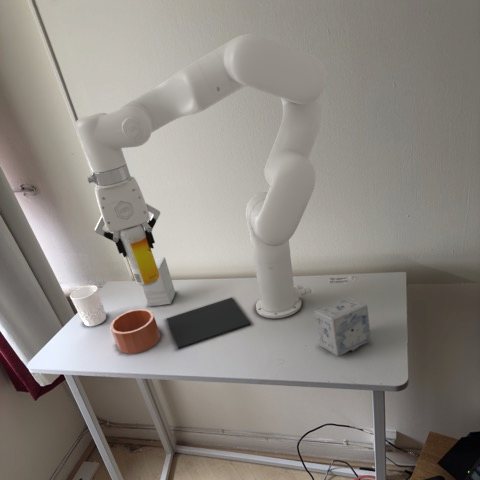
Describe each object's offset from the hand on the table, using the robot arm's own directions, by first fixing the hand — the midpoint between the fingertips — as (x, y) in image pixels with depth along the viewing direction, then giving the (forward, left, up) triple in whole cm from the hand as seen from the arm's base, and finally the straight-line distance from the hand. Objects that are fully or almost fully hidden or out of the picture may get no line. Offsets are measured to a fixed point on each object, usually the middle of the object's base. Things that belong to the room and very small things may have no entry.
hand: (138, 250), depth 102 cm
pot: (+7, -1, -25) cm, 26 cm away
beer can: (0, 0, -9) cm, 9 cm away
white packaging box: (-3, -20, -25) cm, 32 cm away
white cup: (+18, -20, -25) cm, 37 cm away
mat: (-12, +1, -25) cm, 28 cm away
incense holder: (-38, +29, -25) cm, 54 cm away
